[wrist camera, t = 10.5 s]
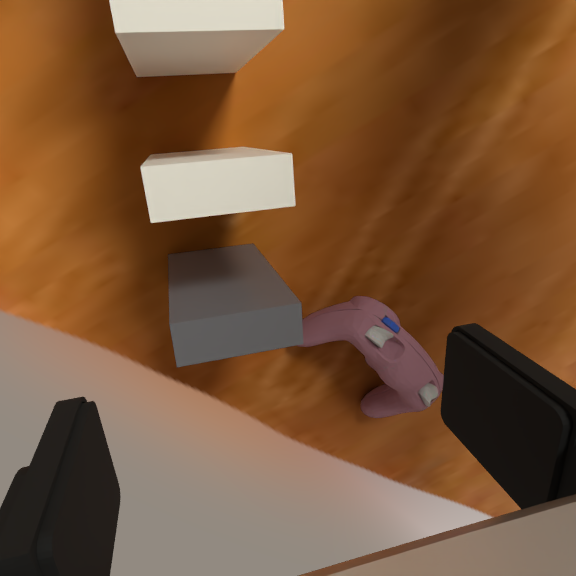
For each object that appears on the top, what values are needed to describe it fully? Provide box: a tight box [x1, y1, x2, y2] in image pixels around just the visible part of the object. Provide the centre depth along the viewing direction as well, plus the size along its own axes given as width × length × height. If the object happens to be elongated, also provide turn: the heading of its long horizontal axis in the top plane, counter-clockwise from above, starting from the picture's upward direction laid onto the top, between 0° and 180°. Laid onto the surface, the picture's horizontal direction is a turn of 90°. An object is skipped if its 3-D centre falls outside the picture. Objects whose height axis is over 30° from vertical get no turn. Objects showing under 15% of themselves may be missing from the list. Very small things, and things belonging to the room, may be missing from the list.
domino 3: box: [168, 244, 303, 367], centre depth 21 cm, size 2×5×10 cm, turn 93°
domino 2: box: [140, 147, 295, 223], centre depth 19 cm, size 2×5×10 cm, turn 94°
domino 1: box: [109, 0, 284, 77], centre depth 17 cm, size 2×5×10 cm, turn 94°
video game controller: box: [297, 296, 444, 418], centre depth 28 cm, size 10×5×7 cm, turn 40°
